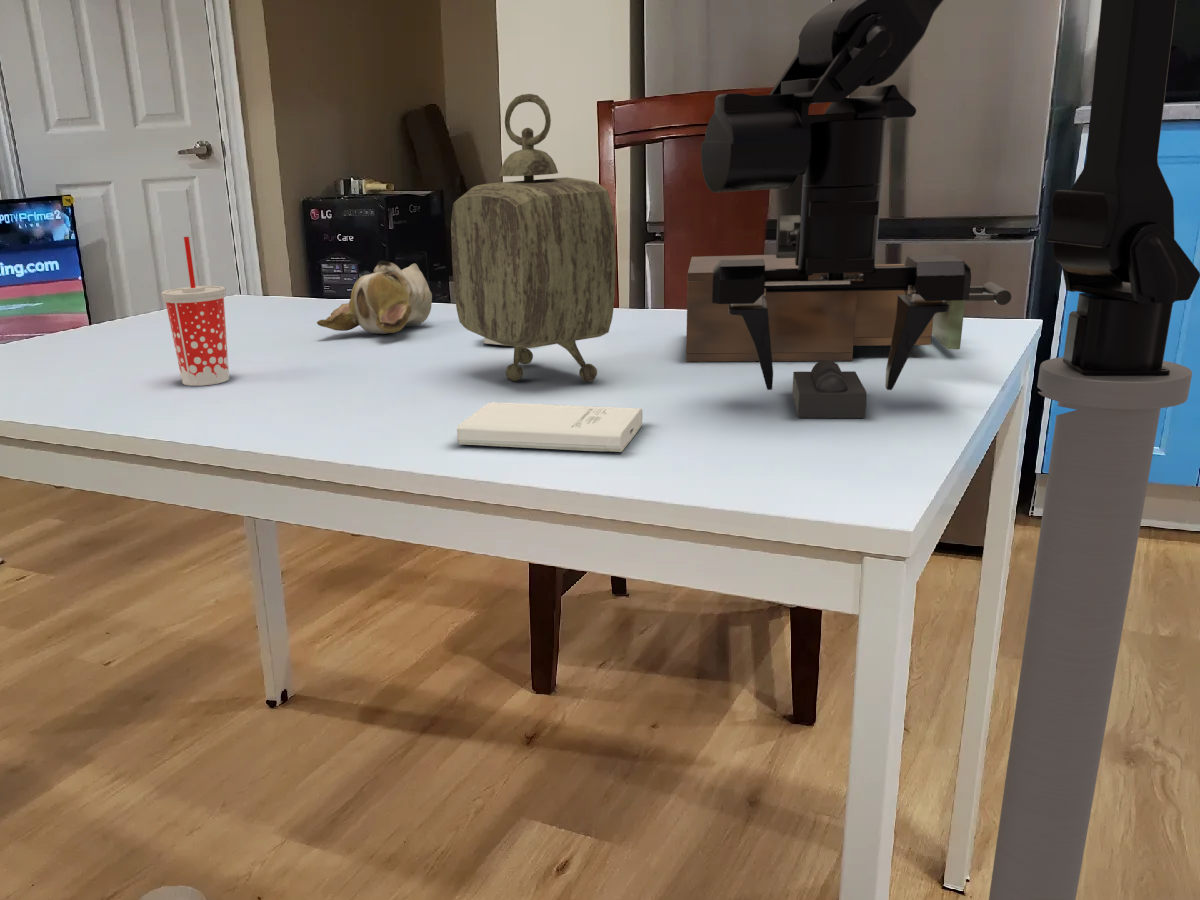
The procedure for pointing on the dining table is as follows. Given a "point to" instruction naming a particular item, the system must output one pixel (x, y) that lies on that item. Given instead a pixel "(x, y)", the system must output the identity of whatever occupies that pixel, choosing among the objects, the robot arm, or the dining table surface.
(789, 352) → the cabinet
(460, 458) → the dining table surface
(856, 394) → the raised capsule plate
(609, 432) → the hard drive
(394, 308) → the ceramic sculpture
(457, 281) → the tabletop clock
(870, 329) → the drawer
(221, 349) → the beverage cup
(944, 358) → the dining table surface
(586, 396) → the dining table surface
